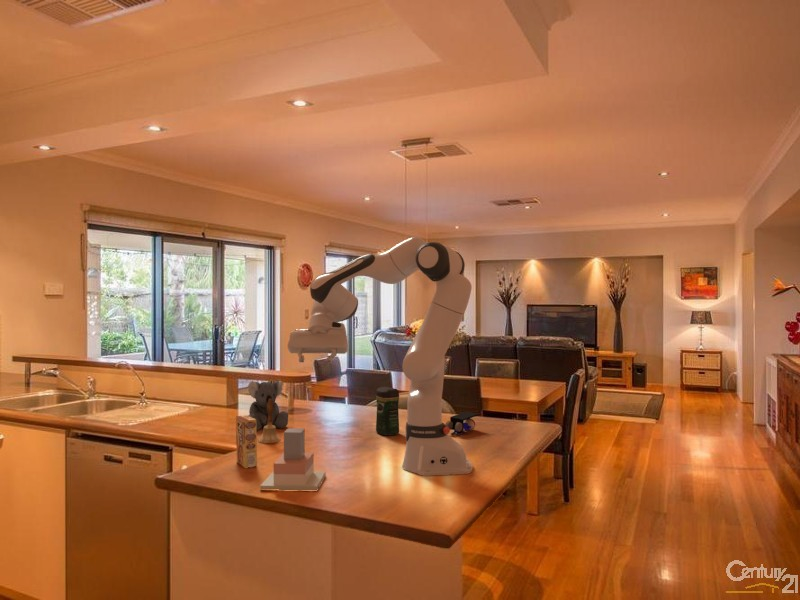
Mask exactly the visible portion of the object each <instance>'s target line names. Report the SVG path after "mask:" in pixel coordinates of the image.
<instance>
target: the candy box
mask: <svg viewBox="0 0 800 600" xmlns="http://www.w3.org/2000/svg"><path fill="white" fill-rule="evenodd" d="M248 415H249V414H245V415H237V416H236V417H235V429H236V430H235V435H236V436H235V437H236V440H235V441H236V442H235V443H236V444H235V445H236V449H235V450H236V463H237V464H239V465H240V464H241V465H240V466H242V467H243V468H244V467H245V468H244V469H249V468H248V467H250V468H254V467H255V466H256V467H258V450H257V449H258V442H257V441H258V440H257V439H258V438H257V436H258V435H257V431H258V430H257V424H256V419H254V418H252V417H250V416H248Z"/></svg>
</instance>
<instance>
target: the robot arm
mask: <svg viewBox="0 0 800 600" xmlns="http://www.w3.org/2000/svg"><path fill="white" fill-rule="evenodd" d="M465 267H466V263H465V260H464V258H463V256H462V255H461V254H460V253H459V252H458V251H457V250H454V249H453V248H451V247H450V246H448V245H446V244H442V243H441V242H437V241H436V242H435V241H430V242H429V241H428V242H426V241H425V240H424V239H423V238H421V237H420V236H411V237H409V238H407V239H405V240H402V241H400V242H399V243H398V244H396V245H394V246H393V247H391V248H389V249H388V250H386V251H384V252H382V253H376V254H371V253H367V254H364V255H362V256H359V257H357V258H355V259H353V260H351V261H349V262H347V263H345V264H343V265H341V266H339V267H337V268H336V269H333V270H331V271H329V272H325V273H322V274H319V275H317V276H316V277H315V278H314V279H313V280H312V282H311V283H310V284H309V292H310V298H311V299H312V300H314V302H313V304H312V308H311V313H310V316H311V317H310V319H309V322H308V327H307V329H295V330H293V331H291V332H290V335H289V339H288V342H287V349H288V352H289V353H290V354H297V356H298V363H304V362H305V355H303V354H330V355H327V358H326V362H327V363H329V364H331V363H333V360H334V359H335V358H336V356H338V355H339V354H343V355H344V354H346V353H347V352H349V351H348V350H349V342H348V336H347V335H348V334H347V330H346V326H345V323H343V321H347V320H349V319H352V318H353V317H354V315H355V314H356V312H357V310H358V307H359V299H358V297H357V296H355V294H354V293H352V292H351V291H350V290H349V289H348V288H346V287H345V286H344V285H343V284H344V283H347V282H348V281H350V280H352V279H355V278H357V277H368V278H372V279H374V280H377V281H379V282H381V283H384V284H386V285H387V284H390V285H396V284H399V283H401V282H402V281H405V279H407V278H408V277H410V276H411V275H412V274H414V273H415V272H417V271H419V270H420V272H422V273H423V275H425V276H426V277H427V278H428V280H431V282H435V283H436V290H435V293H434V295H433V298H432V299H431V302H430V304H429V307H428V309H427V311H426V314H425V316H424V318H423V321H422V323H421V325H420V327H419V329H418V331H417V332H416V335H414V338H413V340H412V342H411V344H410V346H409V348H408V350H407V352H406V354H405V356H404V358H403V360H402V365H401V366H402V371H403V374H404V376H405V377H406V378H407V379H408V380H410V383H409V388H408V389H409V390H408V394H407V395H408V396H407V398H406V399H407V408H406V409H407V411H406V412H407V413H406V414H407V417H406V418H407V422H406V423H405V441H406V445H405V451H404V452H405V453H404V458H403V462H402V465H401V468H402V469H404V470H405V471H408V472H412V473H414V474H417V475H420V476H422V475H423V477H424V476H425V475H430V476H447V475H449V474H452V475H467V474H470V473H472V472H473V469H474V466H473V463H472V462H471V461H470V460H469V459H467V457H466V452H465V449H464V447H463V446H462V445H461V444H460V443H459V442H458V441H456V440H455V439H454V438H453V437H452V436H450V435H449V434H450V432H451V430H450V429H449V427H448V426H447V425H446V423H444V422H443V421H442V417H443V416H442V413H443V412H442V410H443V408H442V404H443V401H442V400H443V399H442V398H443V391H444V380H445V364H446V357H445V356H446V354H447V351H448V349H449V347H450V346H451V344H452V341H454V339H455V336H456V333H457V332H458V329H459V327H460V324H461V322H462V320H463V317H464V315H465V312H466V310H467V307H468V304H469V302H470V297H471V294H472V289H473V288H472V287H473V286H472V283H471V282H470V279H468V278H467V277H466V276H464V275H463V273H464V271H465ZM337 354H338V355H337Z"/></svg>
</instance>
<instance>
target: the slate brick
mask: <svg viewBox="0 0 800 600" xmlns="http://www.w3.org/2000/svg"><path fill="white" fill-rule="evenodd" d="M305 436H306V435H305V428H298V427H297V428H291V427H289V428H287V429H286V430H285V431H284V432H283V453H284V460H302V458H303V457H304V456H305V452H306V451H305V450H306V449H305V445H306V443H305V442H306V441H305V439H306V437H305Z"/></svg>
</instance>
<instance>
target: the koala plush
mask: <svg viewBox="0 0 800 600" xmlns="http://www.w3.org/2000/svg"><path fill="white" fill-rule="evenodd" d="M283 386H284V381H281V380H277V381H275V382H270V381H263V382H257V381H254V380H251V381H250V382H249V383H248V384H247V389H248V391H247V392H248V394H249V395H250V396H251V398H253V399H254V400H255V401H253V402H252V403H251V404H250V406H249V411H248V413H249V414H247V415H248V416H250V417H252V418H254V419H256V424H257V431H259V430H261V429H262V428H264V426H266V425H267V423H268V413H267V403H268V400H269V399H272V401H273V405H274V409H273V413H272V425H274V426H275V427H276V429H284V428H287V426H288V423H289V412H287V411H280V408H279V405H278V404H277V402H276V400H277V397H278V396H280V394H281V392H283V391H282V390H283Z"/></svg>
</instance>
